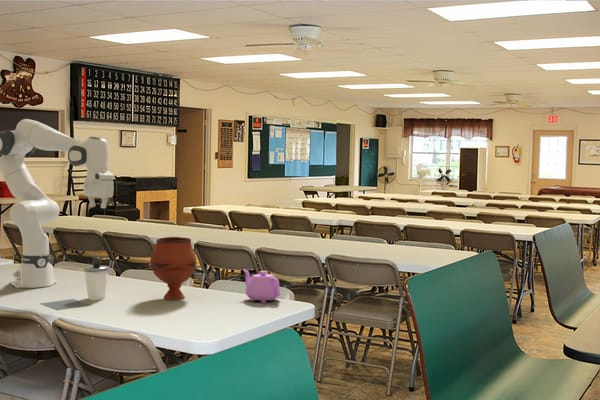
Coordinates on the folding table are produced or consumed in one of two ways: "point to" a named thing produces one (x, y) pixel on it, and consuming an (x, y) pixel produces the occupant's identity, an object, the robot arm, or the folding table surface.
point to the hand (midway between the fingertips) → (98, 207)
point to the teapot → (262, 287)
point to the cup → (96, 284)
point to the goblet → (173, 263)
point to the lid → (96, 266)
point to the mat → (65, 304)
